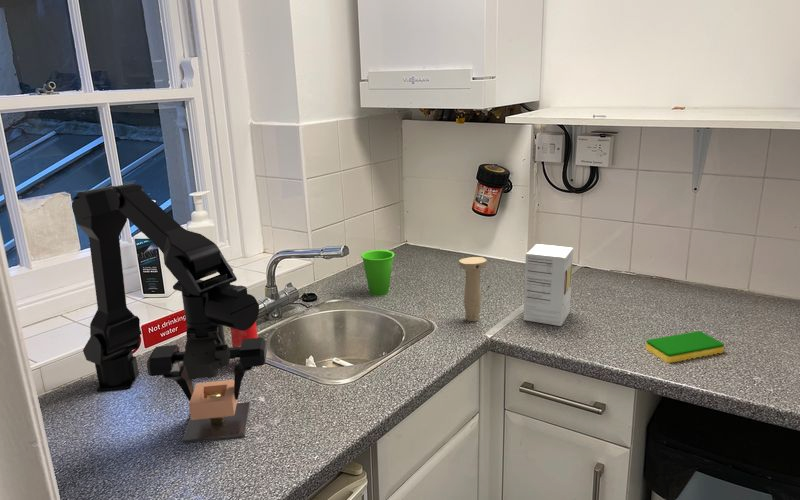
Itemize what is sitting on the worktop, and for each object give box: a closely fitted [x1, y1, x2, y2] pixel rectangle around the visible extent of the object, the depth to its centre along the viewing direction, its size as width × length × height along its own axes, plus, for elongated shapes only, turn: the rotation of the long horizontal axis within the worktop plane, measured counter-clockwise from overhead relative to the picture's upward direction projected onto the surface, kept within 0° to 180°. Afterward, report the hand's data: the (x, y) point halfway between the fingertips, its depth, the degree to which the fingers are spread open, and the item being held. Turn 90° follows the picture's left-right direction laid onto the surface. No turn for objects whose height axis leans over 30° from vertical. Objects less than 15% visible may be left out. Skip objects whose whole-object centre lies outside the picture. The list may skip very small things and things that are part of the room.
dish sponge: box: [645, 330, 725, 364], centre depth 125 cm, size 7×14×2 cm, turn 106°
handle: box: [458, 256, 488, 323], centre depth 141 cm, size 5×6×15 cm
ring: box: [188, 379, 239, 420], centre depth 102 cm, size 7×7×3 cm
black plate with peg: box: [182, 391, 251, 444], centre depth 103 cm, size 10×10×6 cm
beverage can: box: [229, 321, 259, 363], centre depth 123 cm, size 5×5×12 cm
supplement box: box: [523, 243, 574, 327], centre depth 141 cm, size 10×9×17 cm
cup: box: [360, 249, 395, 297], centre depth 161 cm, size 9×9×11 cm
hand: (215, 400), depth 102 cm, fingers closed on ring, 7 cm apart
